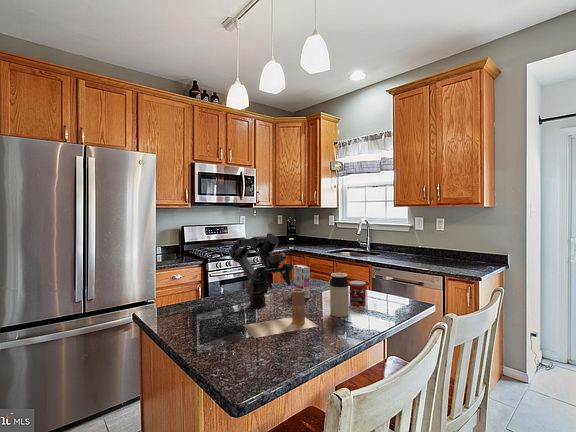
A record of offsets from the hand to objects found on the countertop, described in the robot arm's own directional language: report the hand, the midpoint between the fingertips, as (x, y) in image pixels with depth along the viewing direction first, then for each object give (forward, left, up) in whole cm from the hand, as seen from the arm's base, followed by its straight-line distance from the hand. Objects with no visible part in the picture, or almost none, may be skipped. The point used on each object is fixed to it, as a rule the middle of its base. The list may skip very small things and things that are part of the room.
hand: (281, 286), depth 137 cm
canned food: (+26, +32, -14) cm, 44 cm away
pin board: (+6, -12, -14) cm, 19 cm away
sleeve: (+11, -6, -12) cm, 17 cm away
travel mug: (+22, +14, -14) cm, 29 cm away
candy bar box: (-5, +35, -14) cm, 38 cm away
